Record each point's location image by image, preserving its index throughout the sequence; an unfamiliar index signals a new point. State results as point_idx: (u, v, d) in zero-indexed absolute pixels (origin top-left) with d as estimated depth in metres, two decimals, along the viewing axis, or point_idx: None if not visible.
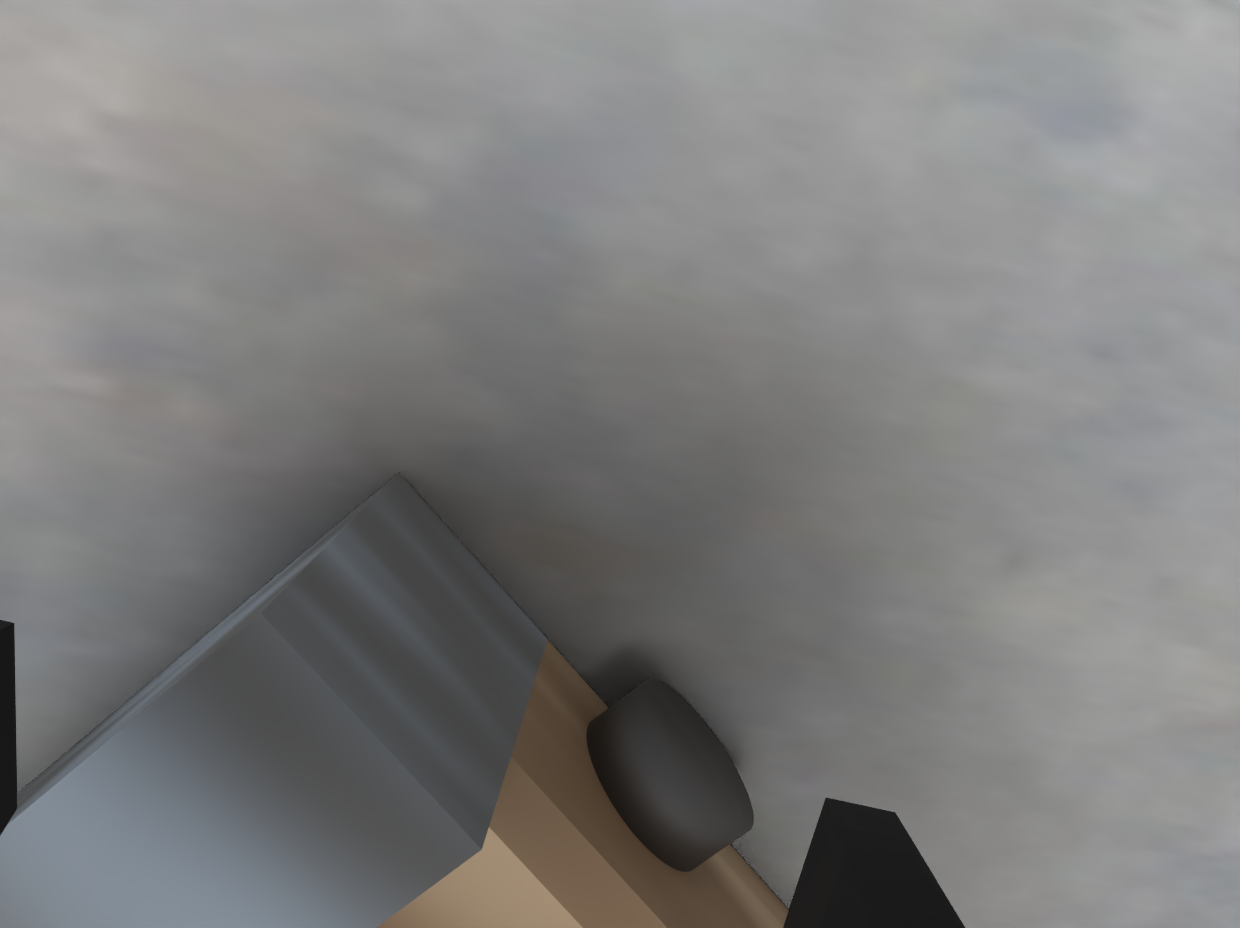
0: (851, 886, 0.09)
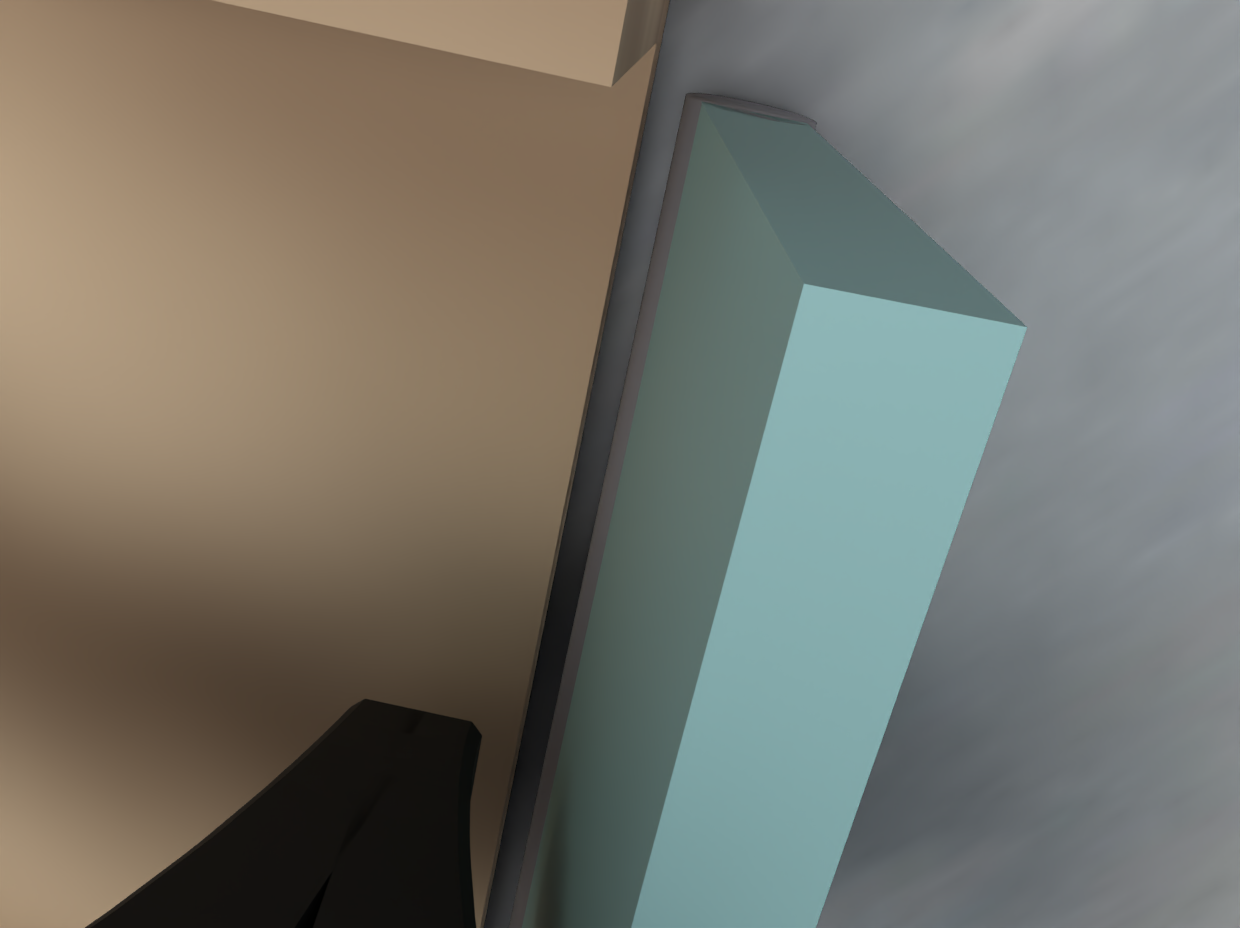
0: None
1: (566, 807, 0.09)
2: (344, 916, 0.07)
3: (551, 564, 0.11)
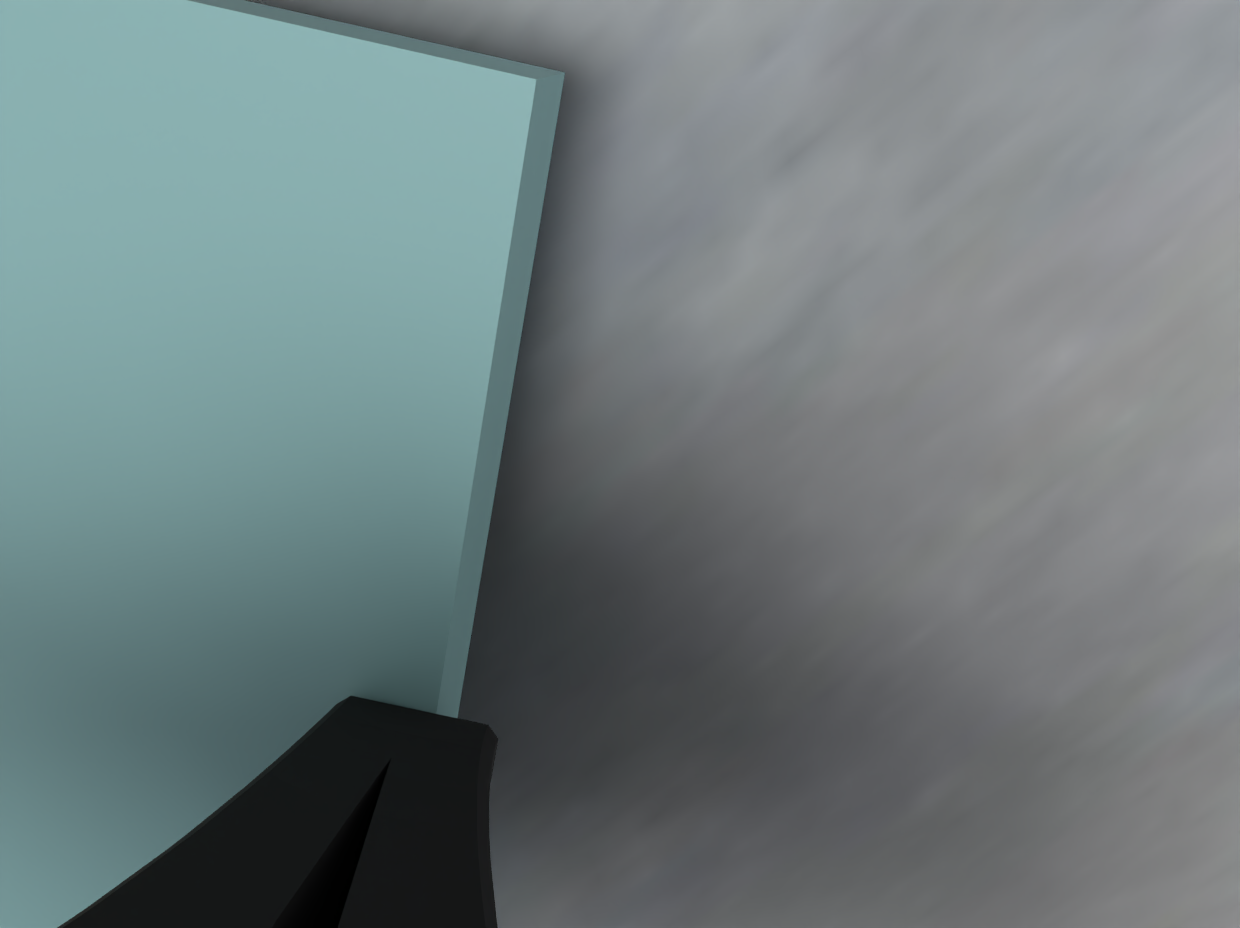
0: None
1: (69, 606, 0.10)
2: (366, 921, 0.07)
3: None
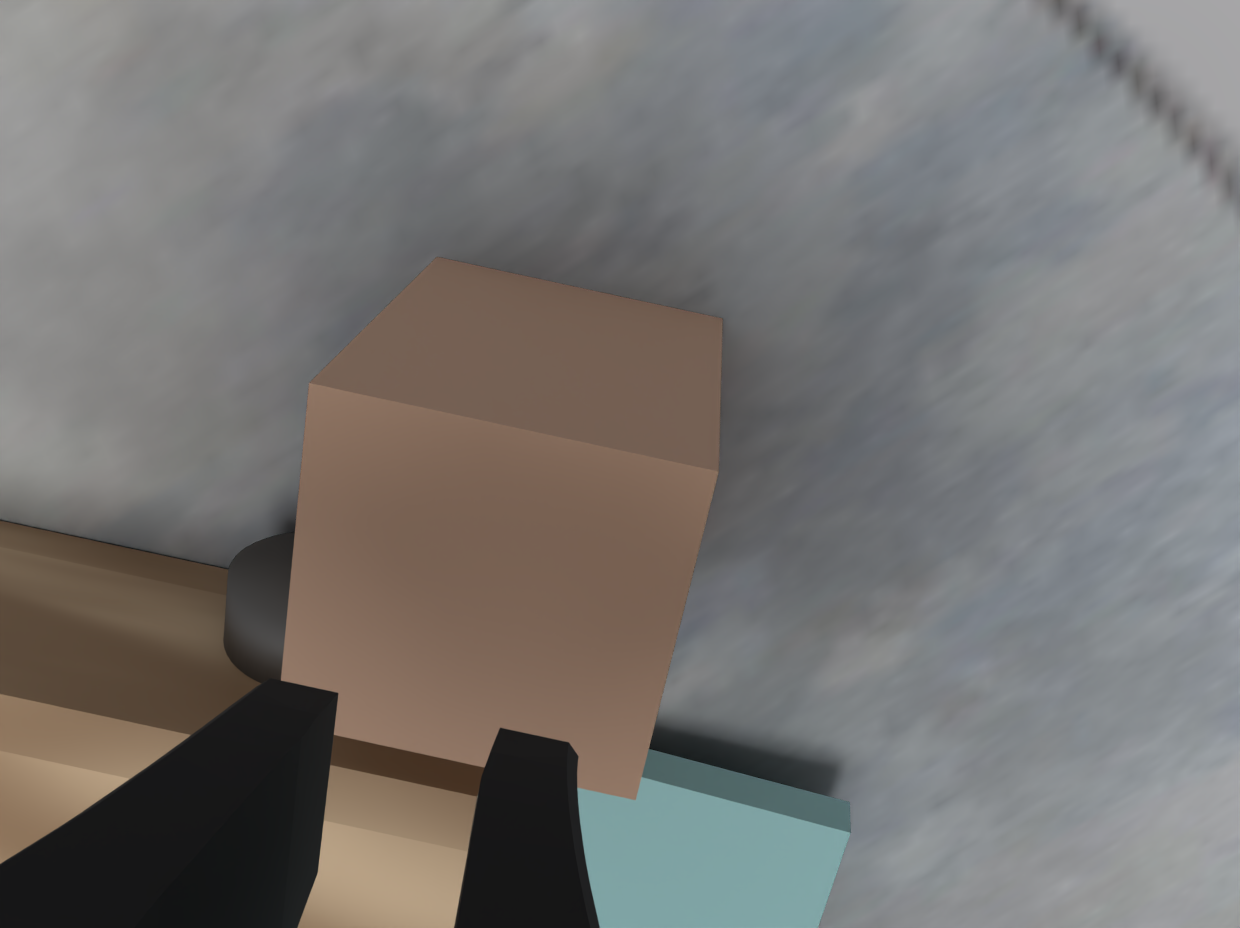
0: (477, 805, 0.09)
1: None
2: None
3: None
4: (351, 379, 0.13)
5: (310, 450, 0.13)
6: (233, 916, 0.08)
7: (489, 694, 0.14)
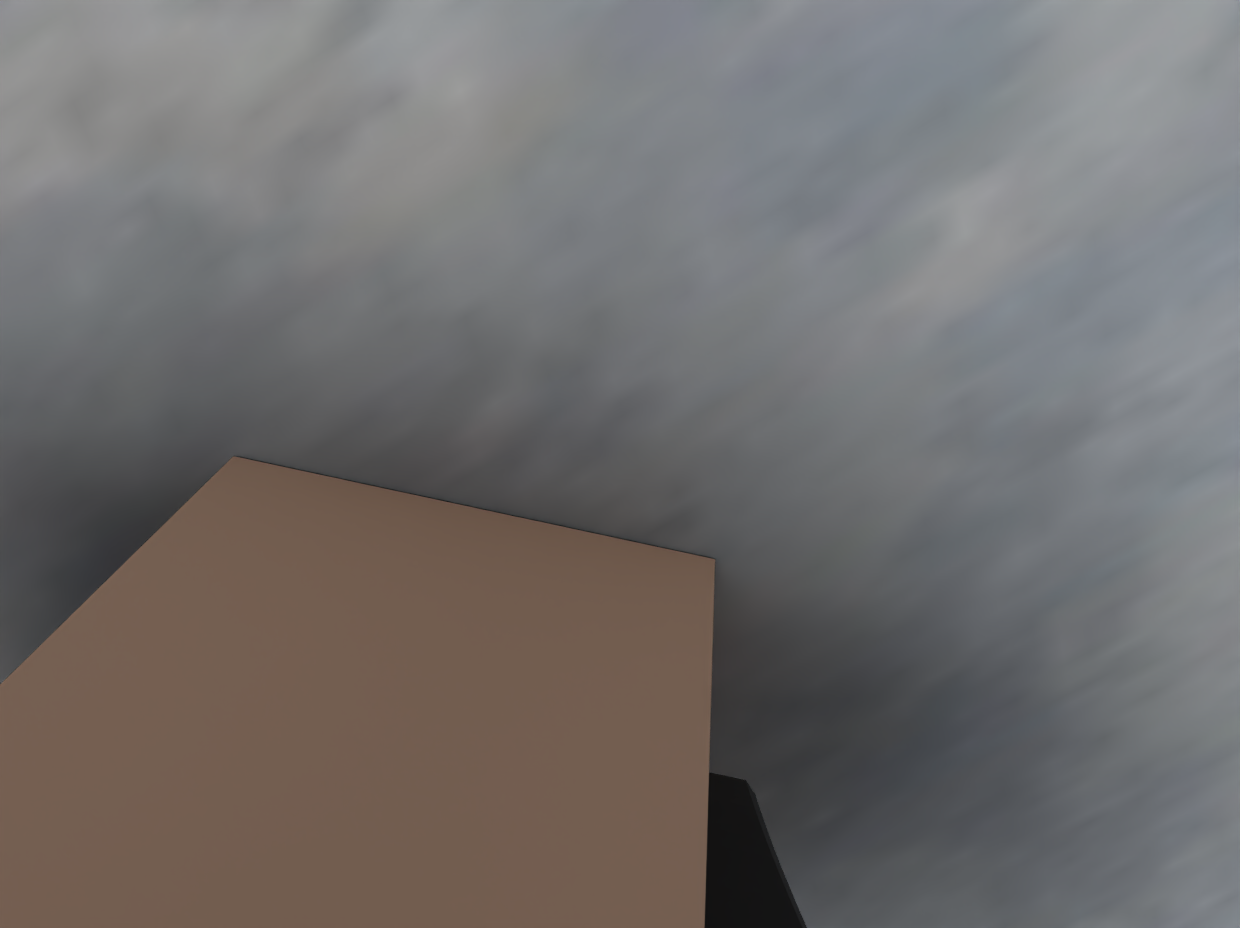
0: None
1: None
2: None
3: None
4: None
5: None
6: None
7: None
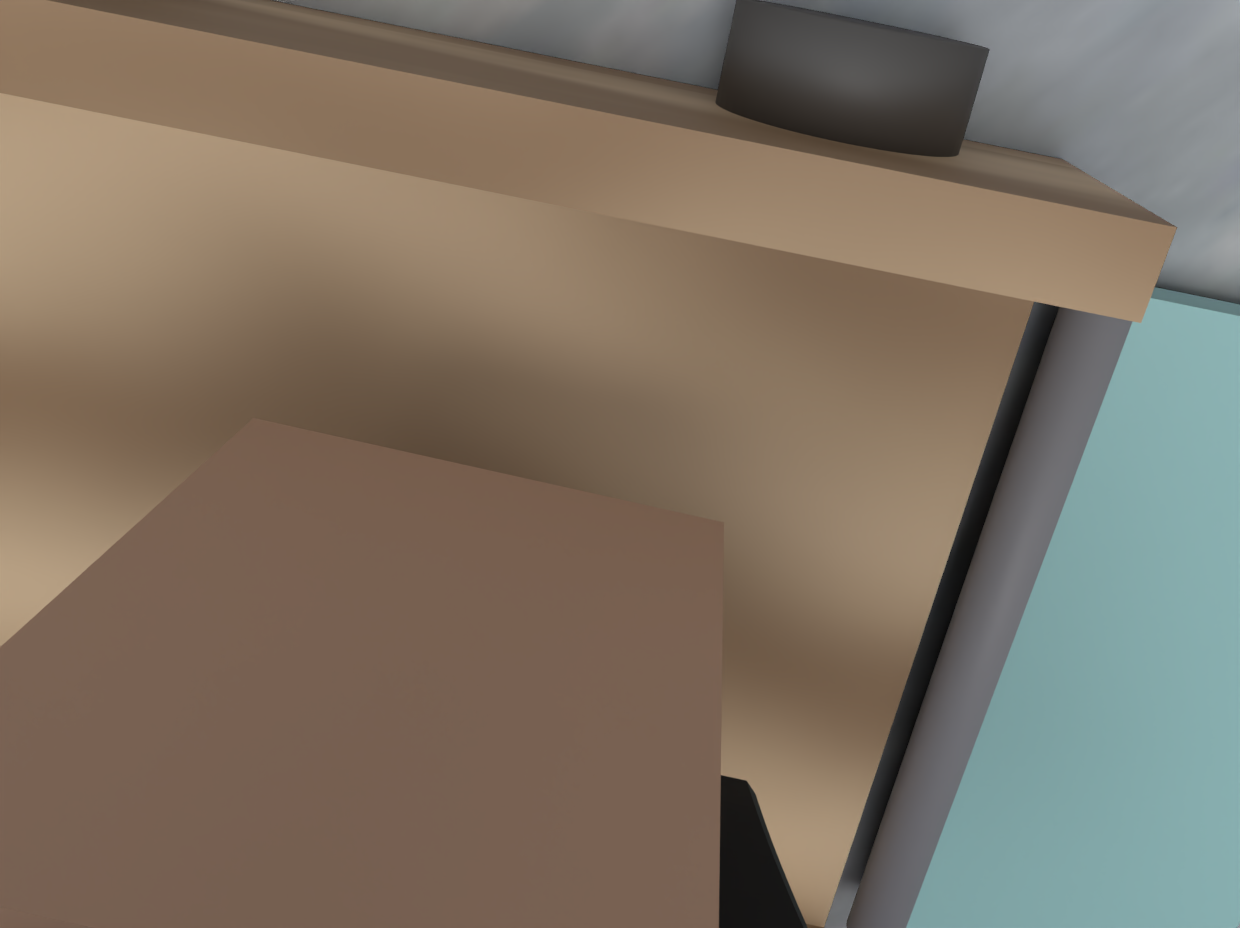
0: None
1: (1114, 663, 0.17)
2: None
3: (949, 549, 0.17)
4: None
5: None
6: None
7: None
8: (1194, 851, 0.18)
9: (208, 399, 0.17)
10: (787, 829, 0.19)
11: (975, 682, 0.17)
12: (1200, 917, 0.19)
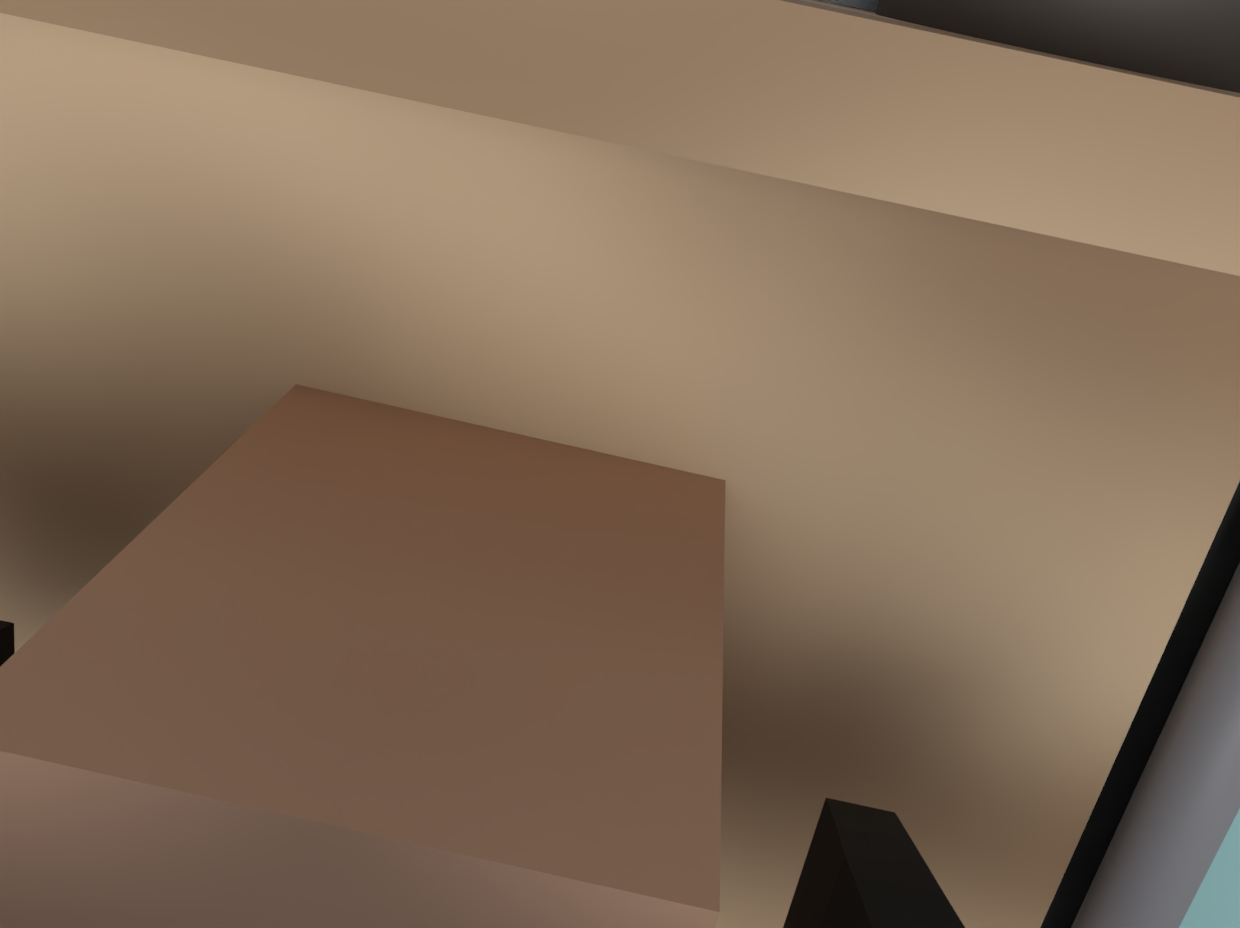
0: (851, 886, 0.09)
1: None
2: None
3: (1158, 657, 0.12)
4: (26, 712, 0.07)
5: None
6: None
7: None
8: None
9: (132, 440, 0.12)
10: None
11: (1193, 843, 0.12)
12: None
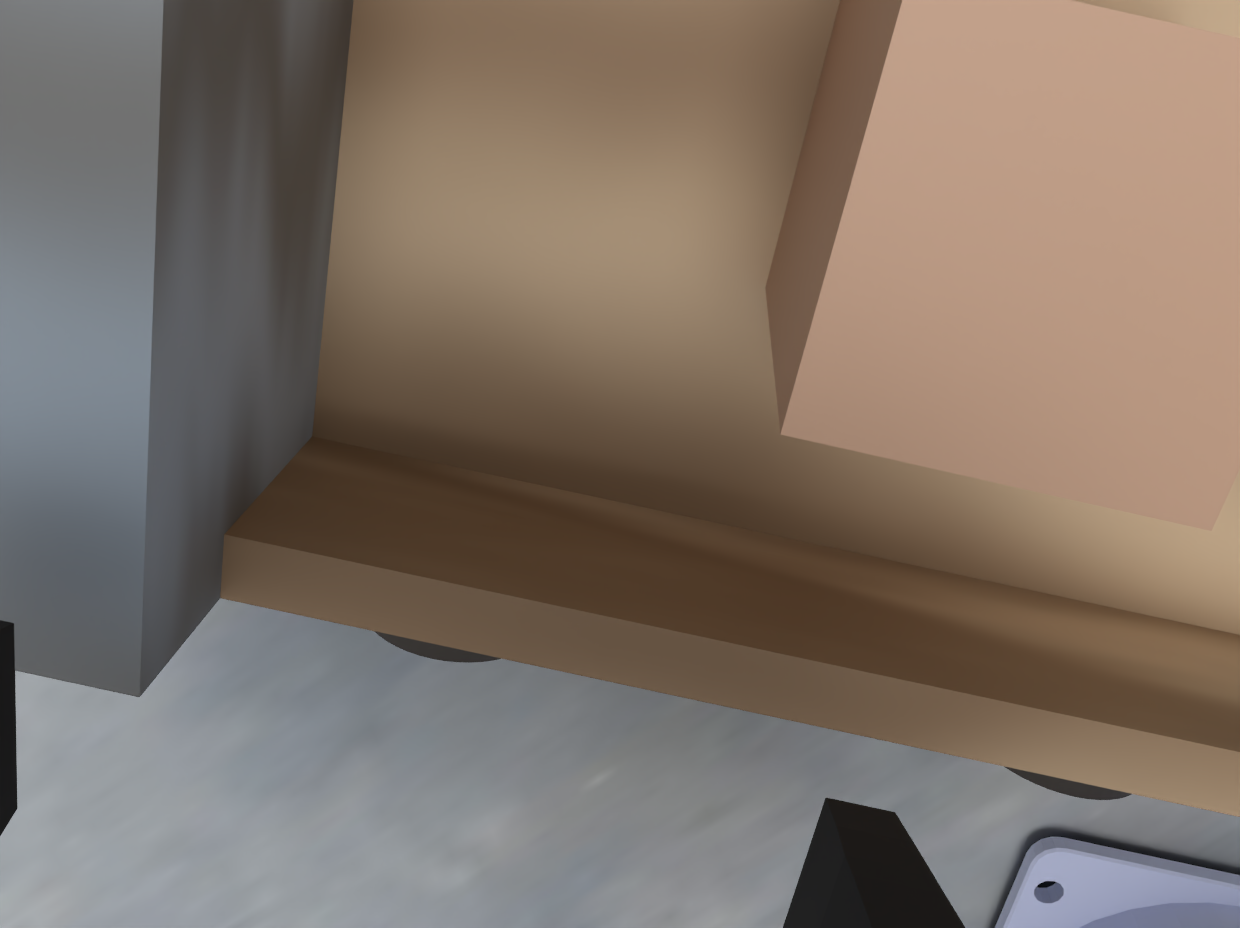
0: (851, 886, 0.09)
1: None
2: None
3: None
4: None
5: (893, 61, 0.11)
6: None
7: (1056, 391, 0.12)
8: None
9: (708, 19, 0.16)
10: None
11: None
12: None
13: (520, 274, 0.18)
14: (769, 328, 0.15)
